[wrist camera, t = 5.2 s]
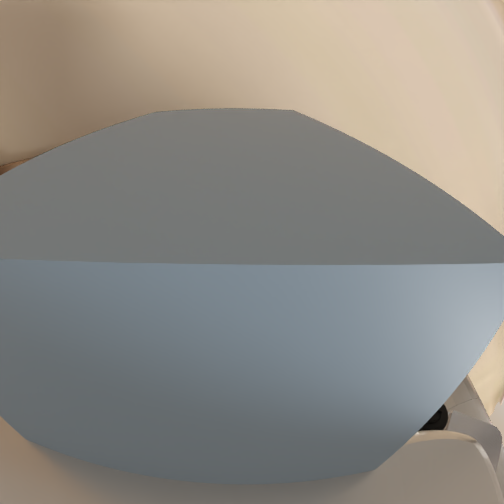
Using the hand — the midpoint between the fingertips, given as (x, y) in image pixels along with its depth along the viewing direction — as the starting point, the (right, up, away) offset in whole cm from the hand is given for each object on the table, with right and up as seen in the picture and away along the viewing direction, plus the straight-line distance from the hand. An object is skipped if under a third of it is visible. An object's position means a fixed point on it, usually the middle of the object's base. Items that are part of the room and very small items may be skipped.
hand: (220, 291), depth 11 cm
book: (0, +1, +2) cm, 3 cm away
